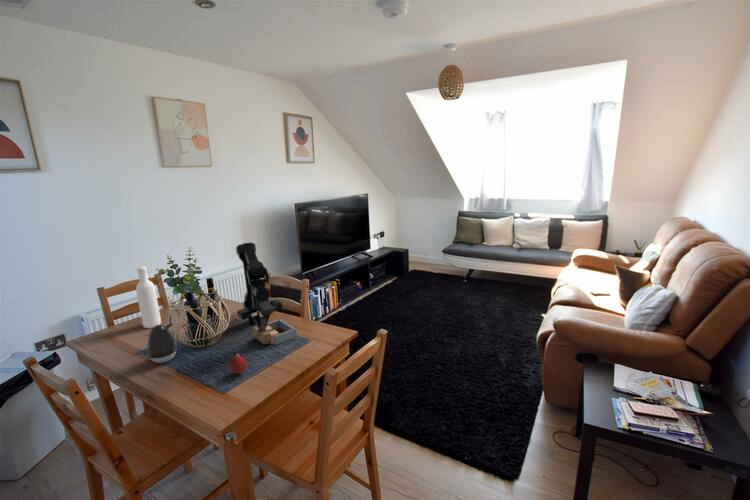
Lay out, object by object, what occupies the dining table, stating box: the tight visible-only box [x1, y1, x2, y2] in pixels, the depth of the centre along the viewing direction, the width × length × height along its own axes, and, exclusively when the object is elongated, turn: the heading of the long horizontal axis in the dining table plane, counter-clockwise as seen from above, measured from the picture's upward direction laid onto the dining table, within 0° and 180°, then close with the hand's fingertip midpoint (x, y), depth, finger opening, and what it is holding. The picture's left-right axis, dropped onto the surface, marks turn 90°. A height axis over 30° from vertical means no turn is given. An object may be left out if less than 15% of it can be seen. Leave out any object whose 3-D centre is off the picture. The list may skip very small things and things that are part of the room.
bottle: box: [135, 266, 162, 329], centre depth 174 cm, size 8×8×30 cm
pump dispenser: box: [146, 322, 178, 364], centre depth 143 cm, size 10×10×15 cm
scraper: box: [252, 315, 271, 345], centre depth 156 cm, size 11×3×10 cm, turn 42°
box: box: [267, 318, 298, 346], centre depth 162 cm, size 15×10×4 cm
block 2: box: [269, 329, 280, 345], centre depth 157 cm, size 4×4×4 cm
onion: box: [229, 353, 248, 374], centre depth 133 cm, size 6×6×8 cm
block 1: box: [266, 326, 273, 332], centre depth 162 cm, size 4×4×4 cm
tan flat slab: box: [230, 311, 238, 323], centre depth 179 cm, size 26×11×1 cm, turn 162°
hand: (262, 327), depth 156 cm, fingers closed on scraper, 3 cm apart
